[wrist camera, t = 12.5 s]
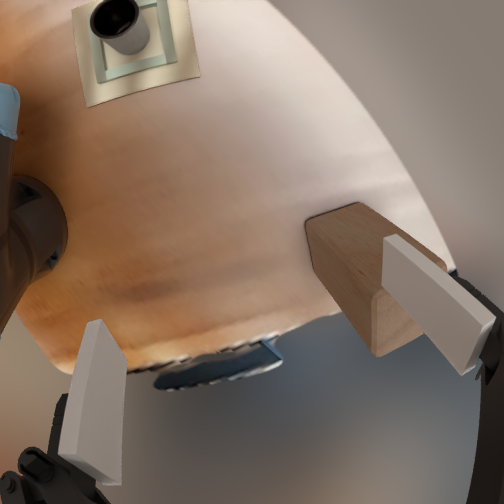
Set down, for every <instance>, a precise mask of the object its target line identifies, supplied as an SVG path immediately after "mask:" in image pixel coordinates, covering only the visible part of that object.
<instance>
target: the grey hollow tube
mask: <svg viewBox="0 0 504 504" xmlns="http://www.w3.org/2000/svg"><path fill="white" fill-rule="evenodd" d="M90 28H91V31H92V32H93V33H94V34H95V35H96V36H97V37H98V38H100V39H101V40H102V41H104V42H105V43H106V44H108V45H109V46H110V47H112V48H113V49H114V50H116V51H117V52H119V53H121V54H123V55H133V54H136V53H138V52H140V51H141V50H142V49H144V48H145V46H146V45H147V44H148V41H149V38H150V32H149V29H148V26H147V24H146V22H145V19H144V17H143V15H142V13H141V10H140V8H139V6H138V4H137V2H136V1H135V0H103V1H102V2H101V3H99V4H98V5H97V6H96V8H95V9H94V10H93V12H92V14H91V17H90Z"/></svg>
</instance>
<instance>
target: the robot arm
mask: <svg viewBox="0 0 504 504" xmlns="http://www.w3.org/2000/svg"><path fill="white" fill-rule="evenodd" d="M19 109H20V96H19V93H18V91H17V90H16V89H15V88H14V87H13V86H11V85H9V84H5V83H1V82H0V339H1V334H2V332H3V330H4V328H5V326H6V324H7V322H8V320H9V319H10V317H11V315H12V313H13V311H14V309H15V308H16V306H17V304H18V302H19V301H20V299H21V297H22V296H23V294H24V292H25V291H26V289H27V287H28V286H29V285H30V284H31V283H33V282H35V281H37V280H38V279H40V278H42V277H44V276H45V275H47V274H48V273H49V272H50V271H51V270H52V269H53V268H54V267H55V266H56V264H57V263H58V261H59V260H60V258H61V256H62V255H63V253H64V250H65V247H66V243H67V223H66V218H65V214H64V212H63V209H62V207H61V205H60V203H59V201H58V199H57V198H56V196H55V195H54V194H53V192H52V191H51V190H50V189H49V188H48V187H47V186H46V185H44V184H43V183H42V182H40V181H39V180H37V179H35V178H32V177H29V176H25V175H14V176H12V167H13V158H14V150H15V143H16V141H17V139H18V135H17V133H16V131H17V123H18V116H19ZM381 285H382V286H383V288H384V289H385V290H386V291H387V292H388V293H389V294H390V295H391V296H392V297H393V298H394V299H395V300H396V301H397V303H398V304H399V305H400V306H401V307H402V308H403V309H404V310H405V311H406V312H407V314H408V315H409V316H410V317H411V318H412V319H413V320H414V321H415V322H416V324H417V325H418V326H419V327H420V328H421V329H422V330H423V332H424V333H425V334H426V335H427V336H428V337H429V338H430V340H431V341H432V342H433V343H434V344H435V345H436V347H437V348H438V349H439V350H440V351H441V352H442V354H443V355H444V356H445V357H446V358H447V359H448V361H449V362H450V363H451V364H452V366H453V367H454V368H455V369H456V370H457V372H458V373H459V374H460V375H461V376H462V375H464V374H465V373H467V372H468V371H470V370H471V369H473V368H474V367H475V365H476V363H477V361H478V359H479V358H480V359H481V360H482V361H483V363H482V365H481V367H480V369H479V371H478V373H477V375H476V378H475V380H477V379H478V378H479V376H480V374H481V403H480V420H479V430H478V440H477V448H476V456H475V462H474V468H473V474H472V479H471V485H470V489H469V493H468V498H467V502H466V504H504V313H503V312H502V311H501V310H500V309H499V308H498V307H496V305H494V304H493V303H492V302H491V301H490V300H489V299H488V298H487V297H485V296H484V295H482V294H481V292H480V291H478V290H477V289H475V287H474V286H473V285H471V284H470V283H469V282H468V281H467V280H464V279H462V278H460V277H458V276H455V277H453V278H452V277H450V276H449V275H448V274H447V273H446V272H444V271H443V270H442V269H441V268H440V267H438V266H437V265H436V264H435V263H433V262H432V261H431V260H430V259H428V258H427V257H426V256H425V255H423V254H422V253H421V252H420V251H418V250H417V249H416V248H414V247H413V246H412V245H411V244H409V243H408V242H407V241H405V240H404V239H403V238H401V237H400V236H399V235H397V234H394V235H391V236H387V237H384V238H383V264H382V283H381ZM127 361H128V360H127V358H126V357H125V355H124V354H123V352H122V351H121V349H120V348H119V346H118V345H117V343H116V341H115V340H114V338H113V337H112V335H111V333H110V332H109V330H108V329H107V327H106V325H105V324H104V322H103V320H102V319H98V320H94V321H90V322H87V325H86V329H85V332H84V335H83V339H82V342H81V346H80V349H79V353H78V357H77V361H76V365H75V369H74V373H73V377H72V381H71V385H70V390H69V393H67V394H62V396H61V398H60V399H59V401H58V403H57V404H56V409H55V413H54V416H55V417H54V418H53V423H52V424H53V426H52V428H51V434H50V440H49V445H48V451H47V454H45V453H44V452H43V451H41V450H40V449H39V448H36V447H28V448H27V449H25V450H24V451H23V452H22V453H21V455H20V457H19V459H18V470H19V472H20V473H21V474H23V475H24V476H20V475H18V474H17V473H16V472H13V471H7V472H5V473H4V474H3V475H2V477H1V478H0V495H1V500H2V504H111V503H110V502H109V501H108V500H107V499H106V497H105V496H104V495H103V494H102V493H101V491H100V490H98V488H96V487H95V483H96V480H97V481H98V482H100V483H101V484H103V485H121V451H122V425H123V406H124V393H125V381H126V371H127Z"/></svg>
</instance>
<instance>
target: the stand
mask: <svg viewBox="0 0 504 504" xmlns="http://www.w3.org/2000/svg"><path fill="white" fill-rule="evenodd" d="M102 1H103V0H96V1H93V2H90V3H88V4H85V5H82V6H80V7H77V8H75V9H72V20H73V29H74V37H75V45H76V52H77V59H78V65H79V71H80V77H81V82H82V88H83V93H84V98H85V103H86V107H87V108H89V107H92V106H95V105H98V104H100V103H103V102H106V101H109V100H112V99H115V98H119V97H122V96H125V95H128V94H132V93H135V92H139V91H142V90H146V89H150V88H153V87H157V86H161V85H165V84H169V83H174V82H178V81H182V80H187V79H192V78H197V77H200V73H199V67H198V62H197V56H196V51H195V45H194V39H193V33H192V28H191V22H190V16H189V10H188V4H187V0H135V1H136V2H137V4H138V6H139V8H140V10H141V13H142V15H143V17H144V19H145V22H146V24H147V26H148V29H149V32H150V38H149V41H148V44H147V45H146V46H145V48H144V49H142V50H141V51H140V52H138V53H136V54H133V55H123V54H121V53H119V52H117V51H116V50H114V49H113V48H112V47H110V46H109V45H108V44H106V43H105V42H104V41H102V40H101V39H100V38H98V37H97V36H96V35H95V34H94V33H93V32H92V31H91V28H90V17H91V14H92V12H93V10H94V9H95V8H96V6H97V5H98V4H99V3H101V2H102Z"/></svg>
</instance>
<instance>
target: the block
mask: <svg viewBox="0 0 504 504" xmlns="http://www.w3.org/2000/svg"><path fill="white" fill-rule="evenodd" d="M306 232H307V237H308V242H309V247H310V252H311V257H312V262H313V267H314V272H315V274H316V275H317V276H318V278H319V279H320V281H321V282H322V283H323V285H324V286H325V287H326V289H327V290H328V292H329V293H330V294H331V296H332V297H333V299H334V300H335V301H336V303H337V304H338V306H339V307H340V308H341V310H342V311H343V313H344V314H345V315H346V317H347V318H348V320H349V321H350V322H351V324H352V325H353V327H354V328H355V330H356V331H357V332H358V334H359V335H360V336H361V338H362V339H363V341H364V342H365V344H366V345H367V347H368V348H369V349H370V351H371V352H372V354H373V355H375V356H376V357H380V356H383V355H385V354H387V353H389V352H391V351H393V350H395V349H397V348H398V347H400V346H402V345H404V344H406V343H408V342H410V341H412V340H413V339H415V338H417V337H419V336H421V335H422V334H424V332H423V330H422V329H421V328H420V327H419V326H418V325H417V324H416V322H415V321H414V320H413V319H412V318H411V317H410V316H409V315H408V314H407V312H406V311H405V310H404V309H403V308H402V307H401V306H400V305H399V304H398V303H397V301H396V300H395V299H394V298H393V297H392V296H391V295H390V294H389V293H388V292H387V291H386V290H385V289H384V288H383V286H382V285H381V283H382V264H383V238H384V237H387V236H391V235H394V234H397V235H399V236H400V237H401V238H403V239H404V240H405V241H407V242H408V243H409V244H411V245H412V246H413V247H414V248H416V249H417V250H418V251H420V252H421V253H422V254H423V255H425V256H426V257H427V258H428V259H430V260H431V261H432V262H433V263H435V264H436V265H437V266H438V267H440V268H441V269H442V270H443V271H444V272H446V273H447V266H446V264H445V262H444V261H443V260H442V259H441V258H439V257H438V256H437V255H435V254H434V253H433V252H431V251H430V250H429V249H427V248H426V247H425V246H423V245H422V244H421V243H419V242H418V241H417V240H415V239H414V238H413V237H411V236H410V235H408V234H407V233H406V232H404V231H403V230H401V229H400V228H399V227H397V226H396V225H394V224H393V223H392V222H390V221H389V220H387V219H386V218H384V217H383V216H381V215H380V214H378V213H377V212H375V211H374V210H373V209H371V208H370V207H368V206H366V205H365V204H363V203H355V204H353V205H350V206H347V207H344V208H341V209H338V210H335V211H332V212H329V213H326V214H323V215H321V216H318V217H315V218H312V219H309V220H308V221H307V222H306Z"/></svg>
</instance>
